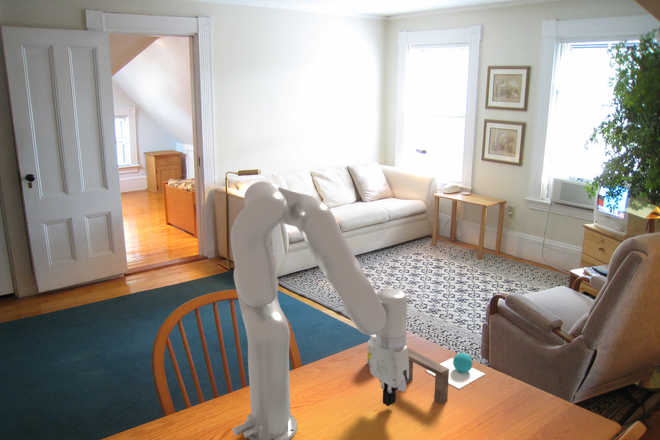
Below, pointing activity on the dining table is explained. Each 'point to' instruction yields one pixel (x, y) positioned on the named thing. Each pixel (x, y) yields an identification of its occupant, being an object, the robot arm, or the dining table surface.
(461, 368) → the ball
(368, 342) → the supplement bottle
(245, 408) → the dining table surface
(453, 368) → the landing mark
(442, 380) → the bridge
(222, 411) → the dining table surface
